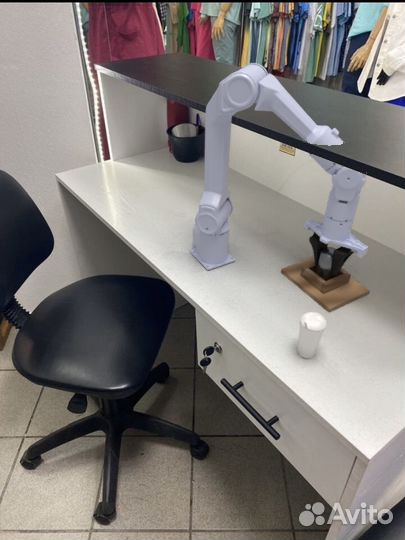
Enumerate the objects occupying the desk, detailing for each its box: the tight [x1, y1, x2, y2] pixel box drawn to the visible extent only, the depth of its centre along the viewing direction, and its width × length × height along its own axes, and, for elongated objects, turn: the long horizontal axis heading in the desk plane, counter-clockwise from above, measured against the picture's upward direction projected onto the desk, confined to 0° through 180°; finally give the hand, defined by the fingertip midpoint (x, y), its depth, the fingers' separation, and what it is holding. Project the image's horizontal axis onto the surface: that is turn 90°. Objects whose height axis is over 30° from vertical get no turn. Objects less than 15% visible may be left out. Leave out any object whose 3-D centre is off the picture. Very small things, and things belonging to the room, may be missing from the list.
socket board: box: [280, 256, 371, 313], centre depth 89 cm, size 16×12×4 cm
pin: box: [316, 246, 337, 279], centre depth 86 cm, size 4×4×6 cm
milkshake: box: [297, 311, 328, 360], centre depth 70 cm, size 4×5×10 cm
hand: (326, 268), depth 87 cm, fingers closed on pin, 4 cm apart
